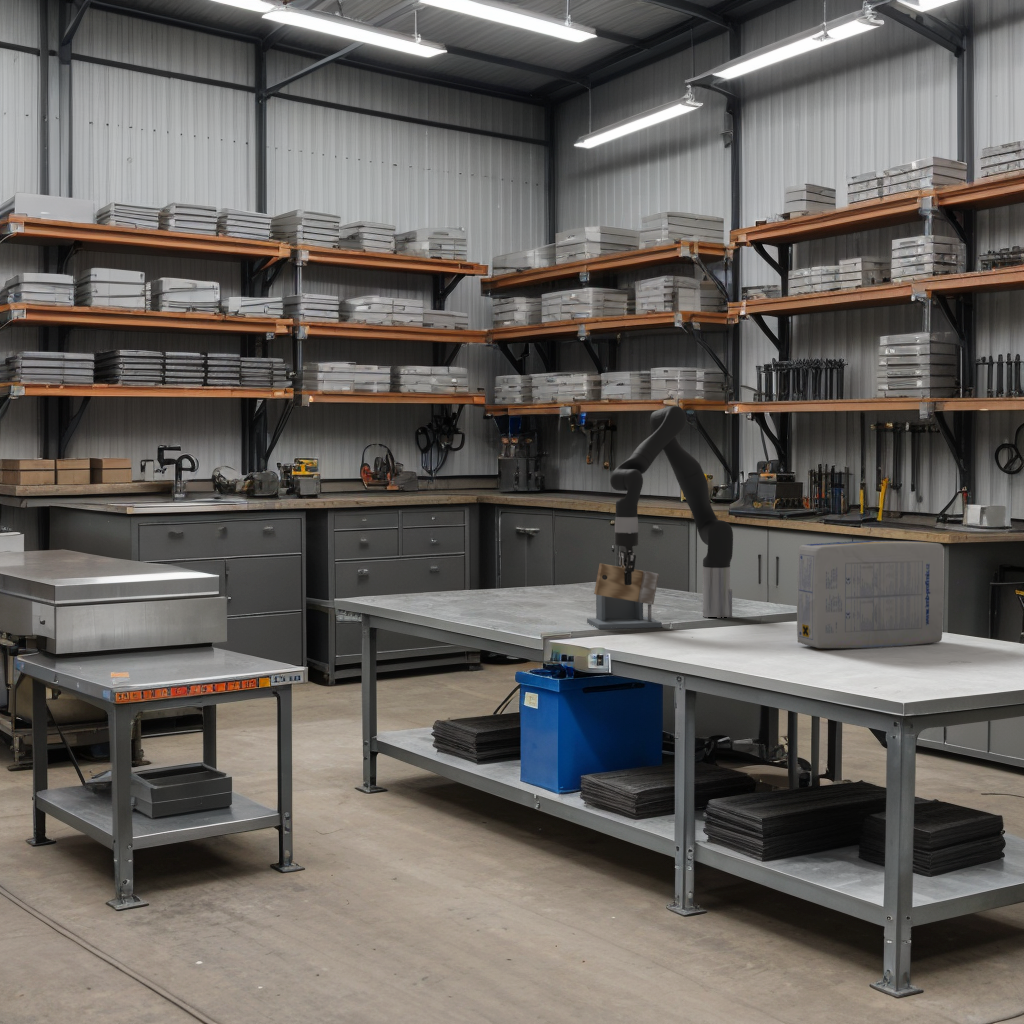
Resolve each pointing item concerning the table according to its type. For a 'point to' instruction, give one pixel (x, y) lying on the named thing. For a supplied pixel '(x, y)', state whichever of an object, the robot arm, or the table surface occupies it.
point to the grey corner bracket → (621, 614)
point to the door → (613, 585)
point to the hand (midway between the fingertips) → (626, 584)
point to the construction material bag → (870, 594)
